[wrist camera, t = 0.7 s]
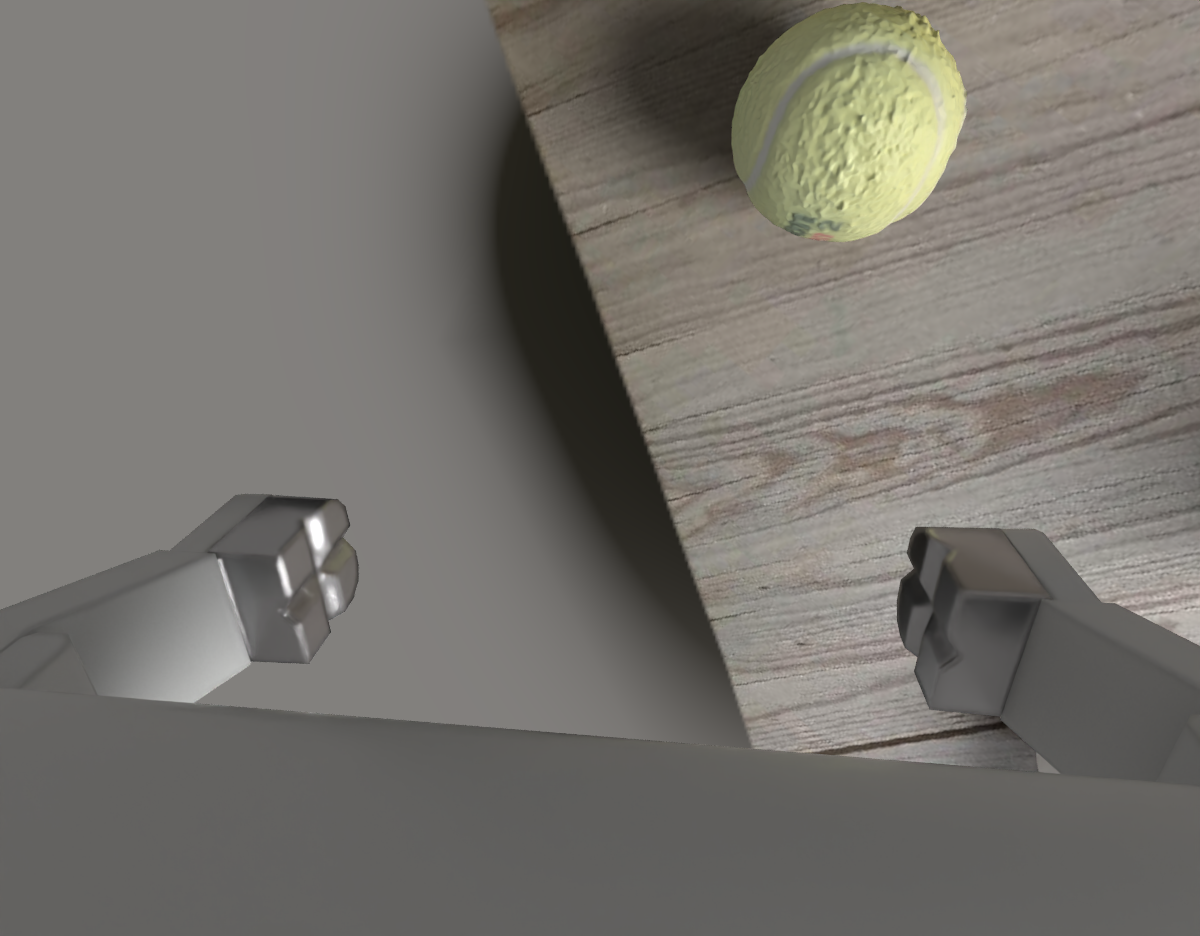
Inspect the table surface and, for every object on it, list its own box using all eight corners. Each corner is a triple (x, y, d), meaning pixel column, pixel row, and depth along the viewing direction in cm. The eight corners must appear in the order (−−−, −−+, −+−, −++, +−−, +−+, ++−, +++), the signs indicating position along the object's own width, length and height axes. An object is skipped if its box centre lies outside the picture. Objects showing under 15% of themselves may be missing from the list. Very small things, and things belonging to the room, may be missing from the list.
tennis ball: (696, 187, 26) (699, 208, 20) (778, -21, 22) (809, -72, 17) (857, 250, 26) (907, 289, 20) (958, 53, 23) (1053, 30, 17)
